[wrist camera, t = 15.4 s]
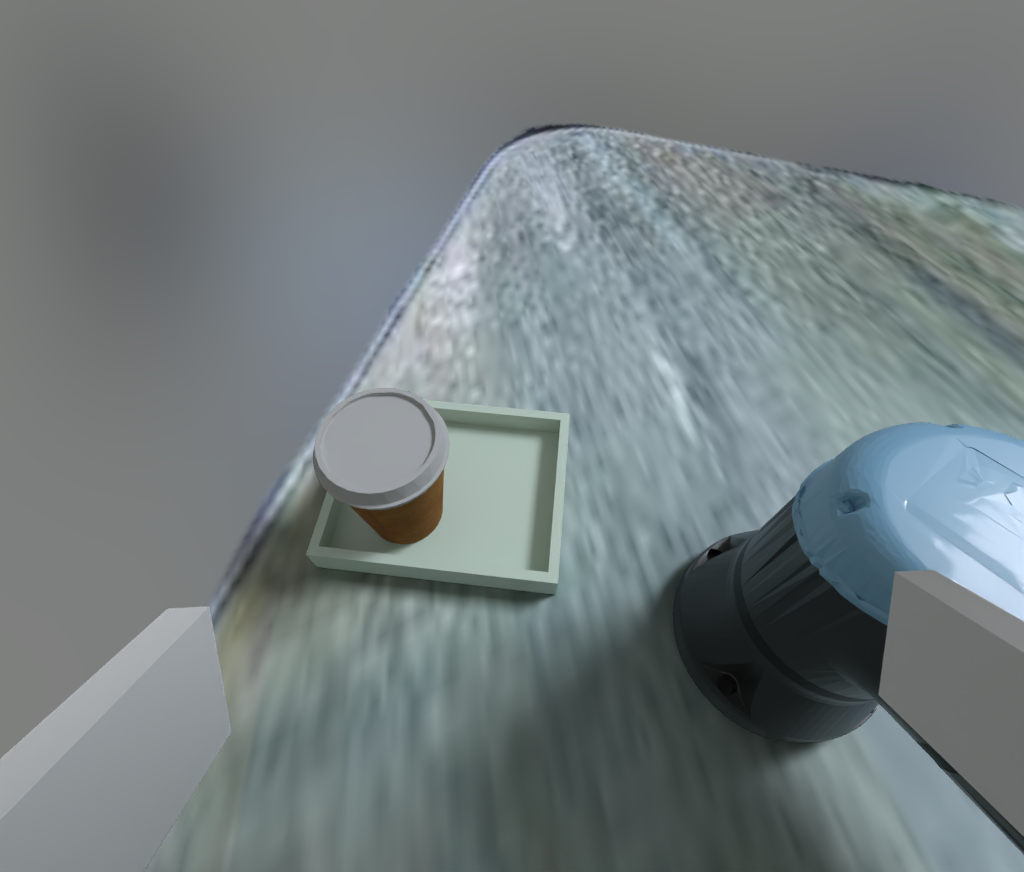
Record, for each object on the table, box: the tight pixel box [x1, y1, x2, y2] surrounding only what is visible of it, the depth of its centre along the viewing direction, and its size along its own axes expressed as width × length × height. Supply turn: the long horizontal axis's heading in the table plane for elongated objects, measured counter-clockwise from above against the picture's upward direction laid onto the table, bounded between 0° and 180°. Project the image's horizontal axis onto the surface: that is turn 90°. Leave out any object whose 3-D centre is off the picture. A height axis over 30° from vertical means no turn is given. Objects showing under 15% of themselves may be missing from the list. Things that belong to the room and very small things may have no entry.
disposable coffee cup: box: [313, 388, 450, 544], centre depth 41 cm, size 10×10×12 cm
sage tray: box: [306, 400, 570, 595], centre depth 47 cm, size 20×16×3 cm
